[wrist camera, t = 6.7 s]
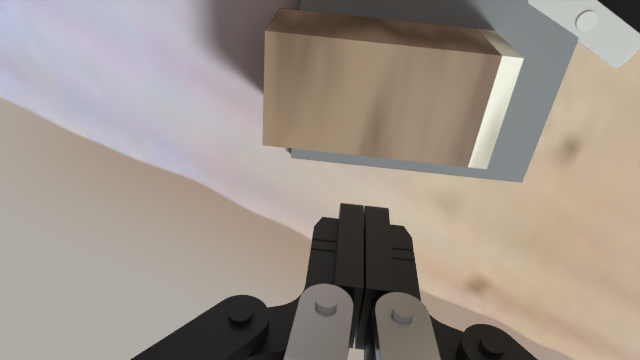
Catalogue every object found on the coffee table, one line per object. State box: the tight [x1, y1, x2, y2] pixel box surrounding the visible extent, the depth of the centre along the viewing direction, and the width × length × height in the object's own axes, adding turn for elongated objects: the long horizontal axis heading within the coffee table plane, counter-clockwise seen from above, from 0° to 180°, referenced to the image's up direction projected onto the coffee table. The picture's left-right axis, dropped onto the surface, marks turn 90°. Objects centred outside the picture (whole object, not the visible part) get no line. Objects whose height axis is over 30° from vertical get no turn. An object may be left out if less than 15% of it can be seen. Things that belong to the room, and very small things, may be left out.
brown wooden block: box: [263, 8, 524, 169], centre depth 24 cm, size 5×6×12 cm
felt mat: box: [291, 0, 579, 183], centre depth 27 cm, size 16×13×1 cm
